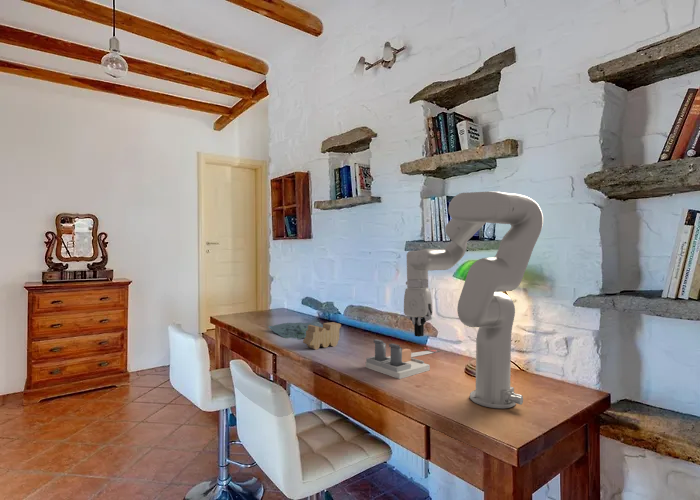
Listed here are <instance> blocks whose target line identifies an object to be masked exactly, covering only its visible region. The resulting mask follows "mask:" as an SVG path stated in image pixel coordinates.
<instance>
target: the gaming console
mask: <svg viewBox="0 0 700 500" xmlns="http://www.w3.org/2000/svg"><path fill="white" fill-rule="evenodd" d="M416 349H419V350H421V347H418V348H415V350H416ZM440 352H441V351H440V350H437V349H430V348H429V347H427V348H426V347H423V348H422V351H417V352H416V351H415V352H411V358H417V357H422V356H425V355H426V356H427V355H430V354H436V353H440Z"/></svg>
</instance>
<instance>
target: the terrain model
mask: <svg viewBox="0 0 700 500" xmlns="http://www.w3.org/2000/svg"><path fill="white" fill-rule="evenodd" d="M308 325H314V326H318V327H322V328H323V323H321V322H319V321H313V322H285V323H279V324H274V325H268V326H267V327H268V328H269V329H270V330H271V331H272V332H273V333H275V334H277V336H280V337H282V338H284V339H290V338H291V339H297V340H301V339H304V338H305V337H306V331H307V330H308Z"/></svg>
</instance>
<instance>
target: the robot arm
mask: <svg viewBox="0 0 700 500" xmlns="http://www.w3.org/2000/svg"><path fill="white" fill-rule="evenodd" d="M448 214H449V216H450V217H451V219H450V220H449V221H448V222H447V223H446V225H445V234H446V235H447V237H448V238H449V240H450V243H448V244H447V245H446V246H445V247H444V248H422V249H419V250H409V251H408V252H407V253H406V282H405V285H406V288H405V290H404V297H403V314H404V315H405V316H406V319H408V320H410V321H411V322H412V325H413V328H414V331H413V333H414V337H423V336H424V335H425V334H424V333H425V332H424V331H425V330H424V328H425V327H424V325H425V324H426V323H427V321H432V315H433V300H432V294H431V289H430V288H429V271H431V272H432V271H447V270H449V269H451V268H453V267H455V265H457V264H458V262H459V261H461V259H462V258H463V257H464V256H465V254H466V250H467V248H468V247H467V246H468V241H469V240H470V239H471V238H473V236H474V235H475V234H476V233H477V232H478V231H479V230H480V229H481V228H482V227H483V226H484V225H485V224H488V223H489V224H500V225H501V224H502V225H510V226H511V227H510V228H509V229H508V231H507V232H506V233H505V234H504V236H503V237H502V239H501V241H500V243H499V246H498V249H497V252H496V254H495V255H494V257H482V258H479V259H478V260H476V261H475V262H474V263H473V264H472V265H471V266H470V268H469V269H468V272H467V274H466V277H465V280H464V284H463V286H462V290H461V293H460V295H459V298H458V303H457V308H456V309H457V316H458V318H459V319H458V320H460V322H461V323H462V324H463V325H464V326H466V327H469V328H478V330H477V333H476V338H475V339H476V340H475V341H476V342H475V346H476V347H475V390H472V391H471V392H470V393H469V399H470V400H471V401H472V402H474V403H475V404H477V405H480V406H482V407H487V408H490V409H491V408H492V409H510V408H514V407H515V406H516V405H517V404H518V405H520V406H521V405H523V403H524V396H523V395H522V394H519V393H515V388H514V387H513V386H511V370H512V369H511V367H512V366H511V363H512V361H511V360H512V359H511V357H512V352H511V351H512V332H513V325H514V320H515V315H516V308H515V303H514V301H513V299H512V298H511V297H510V296H509V295H507V294H506V293H504V292H511V291H513V290H516V289H517V288H518V287H519V286H520V284H521V282H522V281H523V278H524V275H525V272H526V270H527V267H528V265H529V263H530V261H531V256H532V254H533V250H534V248H535V246H536V244H537V241H538V239H539V237H540V235H541V232H542V230H543V225H544V215H543V211H542V209H541V207H540V205H539V204H538V202H536V200H534V199H532V198H530V197H528V196H526V195H523V194H519V193H511V192H504V191H503V192H501V191H493V190H492V191H475V192H474V191H472V192H461V193H458V194H456V195H455V196H454V197H453V198H452V199H451V200H450V202H449V204H448Z"/></svg>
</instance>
